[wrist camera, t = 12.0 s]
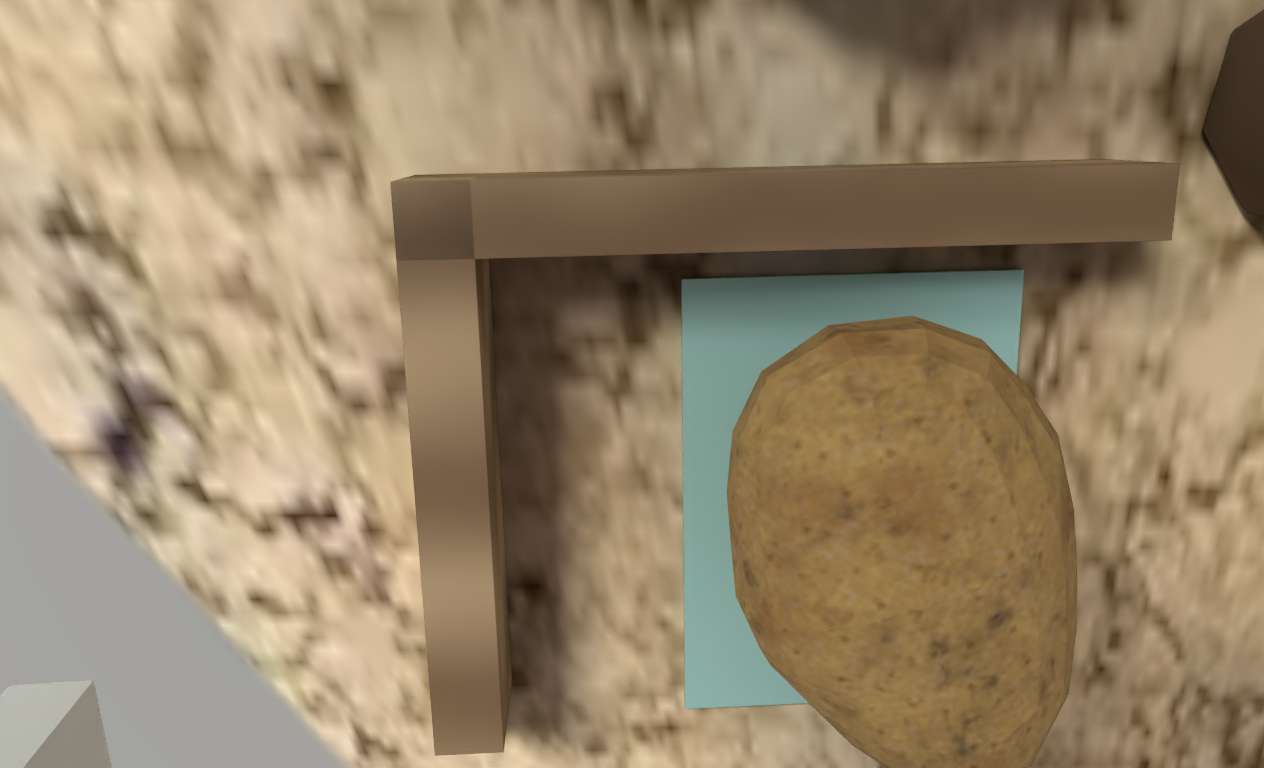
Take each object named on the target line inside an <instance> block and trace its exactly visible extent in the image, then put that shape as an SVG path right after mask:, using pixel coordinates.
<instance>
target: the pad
mask: <svg viewBox="0 0 1264 768" xmlns="http://www.w3.org/2000/svg"><path fill="white" fill-rule="evenodd" d="M1023 282H1024V270H1023V269H1011V270H976V271H940V272H904V273H868V274H832V275H796V276H760V277H724V278H688V279H681V312H682V429H683V547H684V664H685V709H697V708H718V707H739V706H760V705H781V704H803V703H808V702H807V701H806V700H805V699H804V698H803V697H802V696H801V695H800V694H799V693H798V692H797V691H796V690H795V689H794V688H793V687H792V686H791V685H790V684H789V683H788V682H787V681H786V680H785V679H784V678H783V677H782V676H781V675H780V674H779V673H778V672H777V671H776V670H775V669H774V668H773V667H772V666H771V665H770V664H769V662H768V660H767V659H766V657H765V656H764V654H763V653H762V651H761V650H760V648H759V646H758V644H757V641H756V639H755V637H754V635H753V633H752V631H751V628H750V626H749V624H748V622H747V620H746V618H745V615H744V613H743V611H742V609H741V607H740V605H739V602H738V600H737V598H736V594H735V584H734V573H733V563H732V551H731V539H730V527H729V516H728V504H727V482H728V472H729V462H730V452H731V442H732V432H733V429H734V427H735V425H736V423H737V421H738V419H739V417H740V415H741V412H742V410H743V408H744V406H745V404H746V402H747V400H748V398H749V396H750V394H751V392H752V390H753V387H754V385H755V383H756V381H757V379H758V377H759V375H760V373H761V371H762V370H764V369H765V368H767V367H768V366H770V365H771V364H773V363H774V362H776V361H777V360H778V359H780V358H781V357H783V356H784V355H786V354H787V353H789V352H790V351H791V350H793V349H794V348H796V347H797V346H799V345H800V344H802V343H803V342H805V341H806V340H807V339H809V338H810V337H812V336H813V335H815V334H816V333H818V332H819V331H820V330H822V329H823V328H825V327H826V326H828V325H834V324H843V323H851V322H860V321H869V320H878V319H886V318H895V317H904V316H916V317H919V318H922V319H925V320H928V321H930V322H933V323H936V324H939V325H942V326H945V327H948V328H951V329H954V330H957V331H960V332H963V333H966V334H968V335H971V336H974V337H977V338H980V339H982V340H983V341H984V342H985V343H986V344H987V345H988V346H989V347H990V348H991V349H992V350H993V351H994V352H995V353H996V354H997V355H998V356H999V357H1000V358H1001V359H1002V360H1003V361H1004V362H1005V363H1006V364H1007V366H1008V367H1009V368H1010V369H1011V370H1012V371H1013V372H1014V373H1015V374H1016V375H1017V362H1018V349H1019V336H1020V322H1021V309H1022V296H1023Z"/></svg>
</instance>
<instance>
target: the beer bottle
mask: <svg viewBox="0 0 1264 768" xmlns="http://www.w3.org/2000/svg"><path fill="white" fill-rule="evenodd" d="M1202 130H1203V132H1204V134H1205V136H1206V138H1207V140H1208V141H1209V143H1210V145H1211V147H1212V149H1213V151H1214V153H1215V155H1216V157H1217V159H1218V161H1219V163H1220V165H1221V166H1222V168H1223V170H1224V172H1225V174H1226V176H1227V178H1228V180H1229V182H1230V184H1231V186H1232V188H1233V190H1234V191H1235V193H1236V195H1237V197H1238V199H1239V201H1240V203H1241V205H1242V207H1243V208H1244V210H1245V211H1246V212H1248V213H1253V214H1258V215H1262V216H1264V10H1263V11H1261V12H1260V13H1258V14H1257V15H1255V16H1254V17H1252V18H1251V19H1249V20H1248V21H1246V22H1245V23H1243V24H1242V25H1241V26H1239V27H1238V28H1236V29H1235V30H1234V31H1233V33H1232V34H1231V36H1230V40H1229V43H1228V46H1227V50H1226V53H1225V56H1224V60H1223V63H1222V66H1221V70H1220V73H1219V76H1218V79H1217V83H1216V86H1215V89H1214V93H1213V96H1212V99H1211V103H1210V106H1209V109H1208V112H1207V116H1206V119H1205V122H1204V126H1203V129H1202Z"/></svg>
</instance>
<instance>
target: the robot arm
mask: <svg viewBox="0 0 1264 768" xmlns="http://www.w3.org/2000/svg"><path fill="white" fill-rule="evenodd" d="M0 768H112V767H111V763H110V758H109V753H108V748H107V743H106V738H105V733H104V729H103V724H102V719H101V714H100V709H99V705H98V700H97V695H96V690H95V685H94V681H93V680H90V681H74V682H59V683H44V684H28V685H13V686H9V687H8V688H7V689H6V690H5V691H4V692H3V693H2V694H1V695H0Z"/></svg>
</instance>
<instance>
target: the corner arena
mask: <svg viewBox="0 0 1264 768" xmlns="http://www.w3.org/2000/svg"><path fill="white" fill-rule="evenodd" d="M1179 168H1180V164H1177V163H1160V162H1142V161H1124V160H1107V159H1094V160H1051V161H1007V162H963V163H920V164H876V165H833V166H789V167H745V168H702V169H658V170H614V171H571V172H527V173H484V174H440V175H414V176H410V177H406V178H403V179H399V180H396V181H392V182H391V195H392V208H393V221H394V234H395V247H396V259H397V272H398V285H399V298H400V311H401V324H402V337H403V350H404V363H405V375H406V388H407V401H408V414H409V427H410V440H411V453H412V466H413V479H414V491H415V504H416V517H417V530H418V543H419V556H420V569H421V582H422V595H423V607H424V620H425V633H426V646H427V659H428V672H429V685H430V698H431V710H432V723H433V736H434V749H435V755H456V754H476V753H497V752H504V744H505V736H506V727H507V719H508V711H509V702H510V694H511V686H512V669H511V650H510V632H509V614H508V596H507V578H506V560H505V542H504V524H503V505H502V487H501V469H500V451H499V433H498V415H497V397H496V379H495V360H494V342H493V324H492V306H491V288H490V270H489V259H490V258H527V257H565V256H602V255H639V254H677V253H714V252H752V251H789V250H827V249H864V248H901V247H939V246H976V245H1014V244H1051V243H1089V242H1126V241H1163V240H1172V231H1173V222H1174V213H1175V204H1176V195H1177V186H1178V177H1179Z"/></svg>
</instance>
